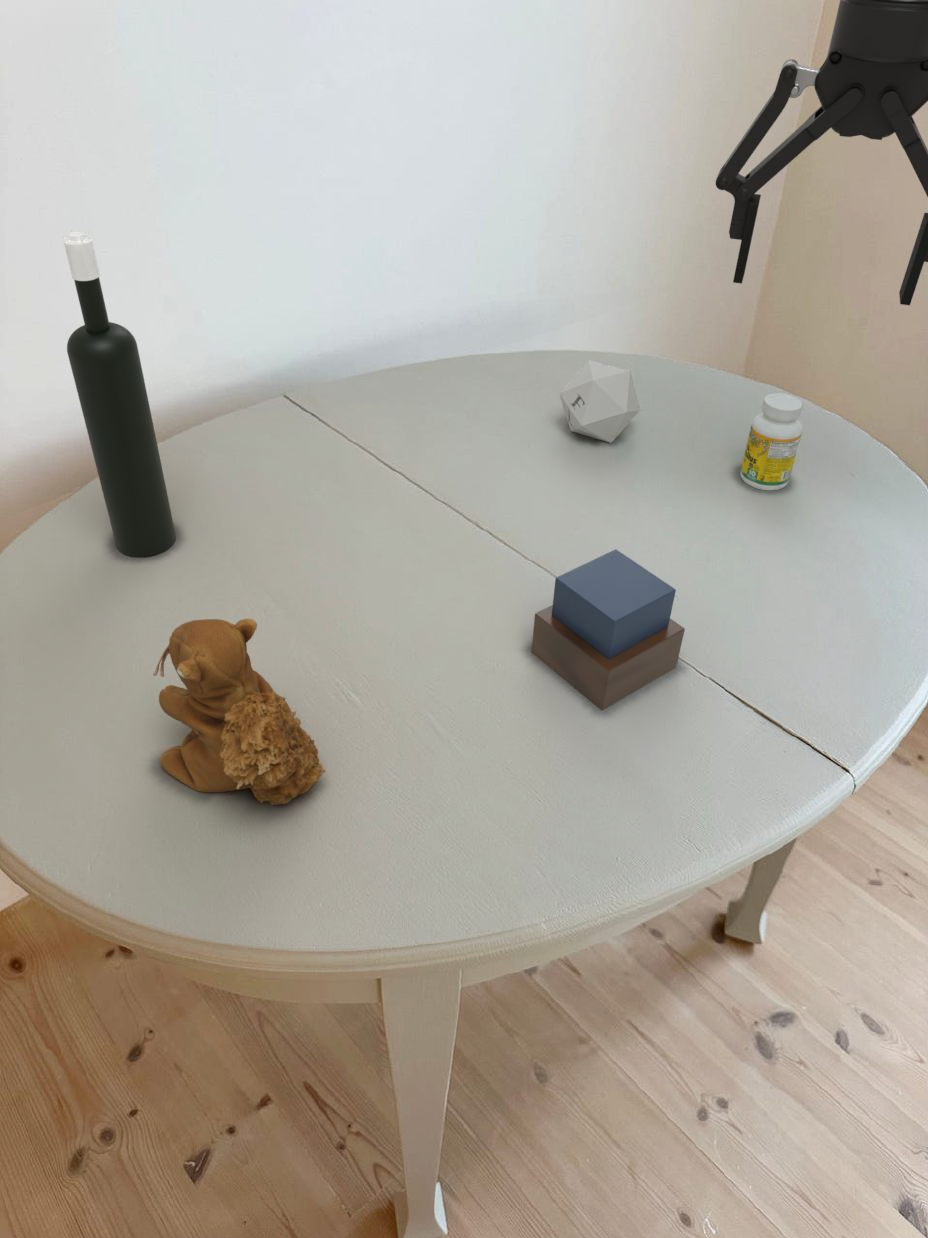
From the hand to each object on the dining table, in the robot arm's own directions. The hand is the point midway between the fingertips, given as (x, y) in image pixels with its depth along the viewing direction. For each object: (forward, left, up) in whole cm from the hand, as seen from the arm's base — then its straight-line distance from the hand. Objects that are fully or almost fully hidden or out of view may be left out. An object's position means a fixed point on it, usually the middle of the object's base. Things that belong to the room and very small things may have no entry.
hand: (819, 288), depth 81 cm
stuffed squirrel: (-16, +53, -27) cm, 62 cm away
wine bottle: (+17, +59, -27) cm, 67 cm away
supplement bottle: (+11, -8, -27) cm, 30 cm away
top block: (-12, +22, -22) cm, 34 cm away
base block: (-12, +22, -27) cm, 37 cm away
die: (+26, +6, -27) cm, 38 cm away
